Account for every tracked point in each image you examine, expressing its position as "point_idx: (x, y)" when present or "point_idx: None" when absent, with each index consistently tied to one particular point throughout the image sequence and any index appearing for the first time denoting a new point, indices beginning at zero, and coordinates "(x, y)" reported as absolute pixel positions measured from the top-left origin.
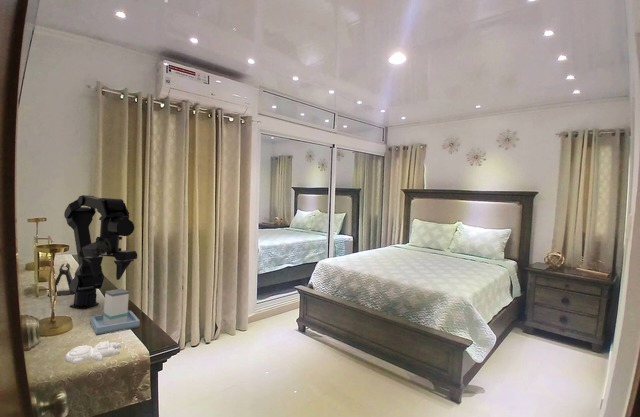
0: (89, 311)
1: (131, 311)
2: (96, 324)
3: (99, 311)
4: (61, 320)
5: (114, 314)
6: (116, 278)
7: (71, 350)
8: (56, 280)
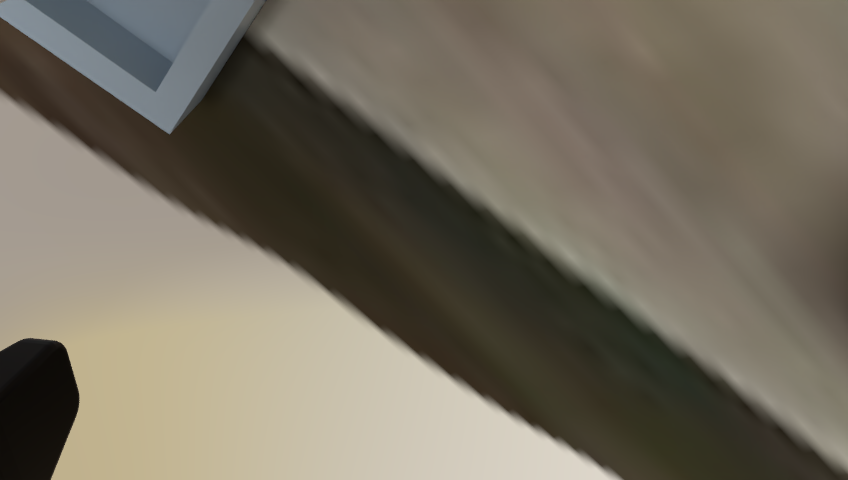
0: (811, 110)
1: (126, 101)
2: None
3: (681, 146)
4: None
5: None
6: (34, 357)
7: None
8: None
